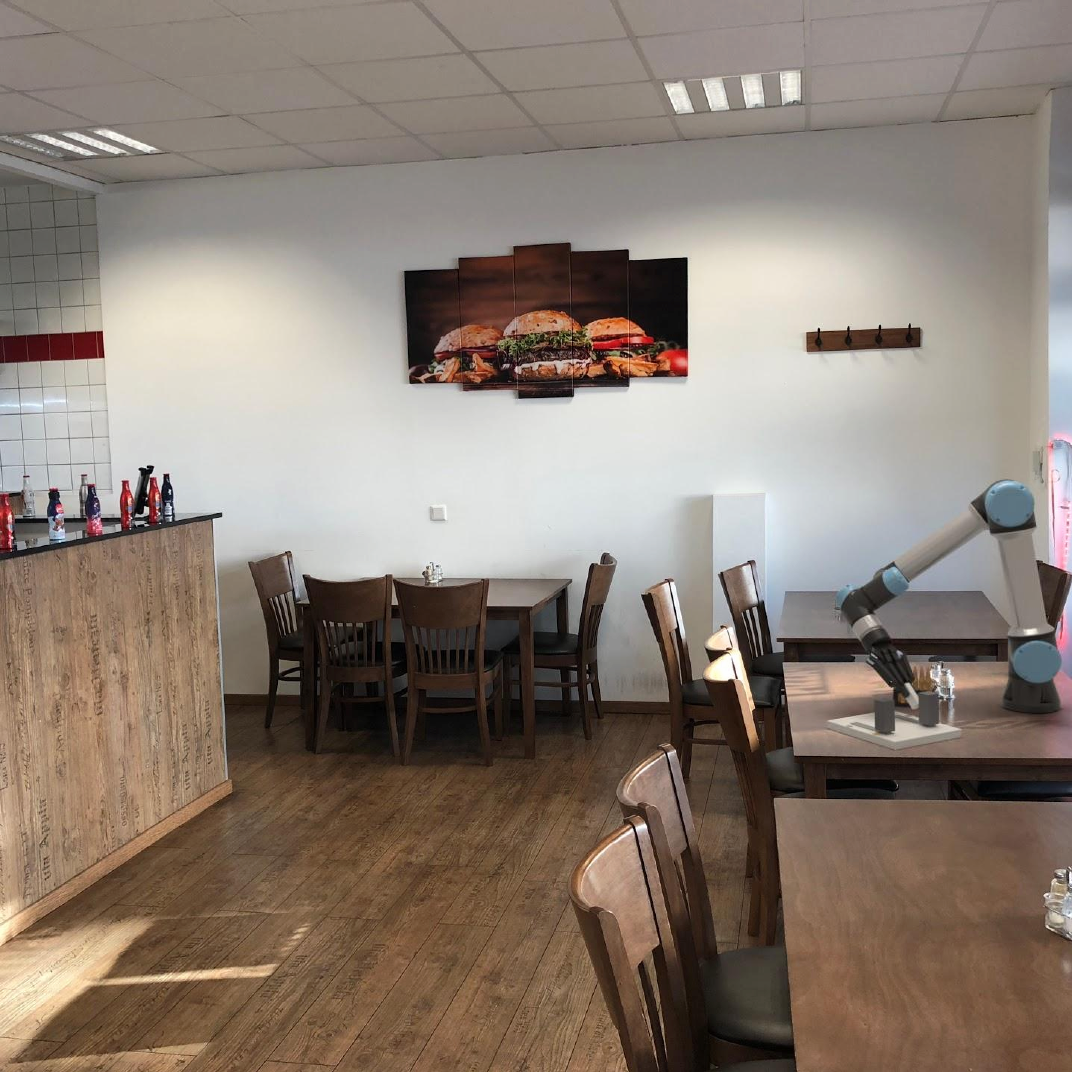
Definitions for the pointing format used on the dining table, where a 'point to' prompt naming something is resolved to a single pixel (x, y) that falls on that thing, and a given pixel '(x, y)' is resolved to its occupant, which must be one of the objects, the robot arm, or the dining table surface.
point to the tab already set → (884, 715)
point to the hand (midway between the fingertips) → (917, 706)
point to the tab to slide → (928, 708)
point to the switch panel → (902, 737)
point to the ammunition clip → (920, 687)
